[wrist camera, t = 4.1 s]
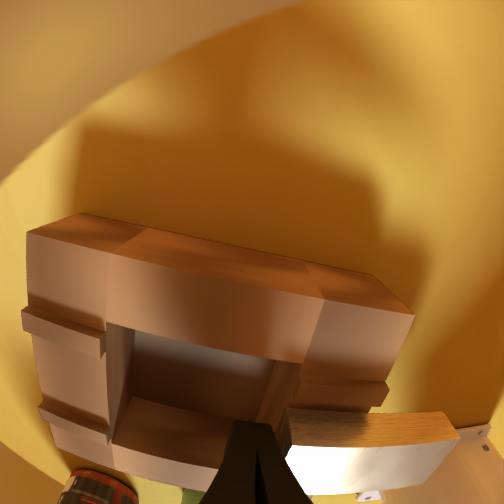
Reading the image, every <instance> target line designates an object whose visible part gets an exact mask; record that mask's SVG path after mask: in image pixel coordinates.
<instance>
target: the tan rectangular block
mask: <svg viewBox="0 0 504 504" xmlns="http://www.w3.org/2000/svg"><path fill="white" fill-rule="evenodd" d="M275 436H276V439H277V441H278V444H279V446H280V448H281V450H282V452H283V454H284V456H285V458H286V460H287V462H288V464H289V466H290V468H291V470H292V471H293V473H294V475H295V477H296V478H297V480H298V482H299V483H300V485H301V486H302V488H303V489H304V491H305V493H306V494H307V495H320V494H346V493H360V492H371V491H380V490H388V489H395V488H402V487H408V486H414V485H419V484H423V483H424V482H425V481H426V480H427V479H428V478H429V477H430V476H431V474H432V473H433V472H434V471H435V470H436V469H437V467H438V466H439V465H440V464H441V463H442V462H443V460H444V459H445V458H446V457H447V455H448V454H449V453H450V452H451V450H452V449H453V448H454V447H455V445H456V444H457V443H458V441H459V440H460V439H461V437H460V436H459V434H458V433H457V431H456V430H455V428H454V427H453V426H452V424H451V423H450V421H449V420H448V418H447V417H446V415H445V414H444V412H443V411H440V412H421V413H354V412H334V411H319V410H308V409H297V408H288V407H287V408H286V411H285V413H284V416H283V418H282V420H281V423H280V425H279V427H278V430H277V432H276V434H275Z"/></svg>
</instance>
